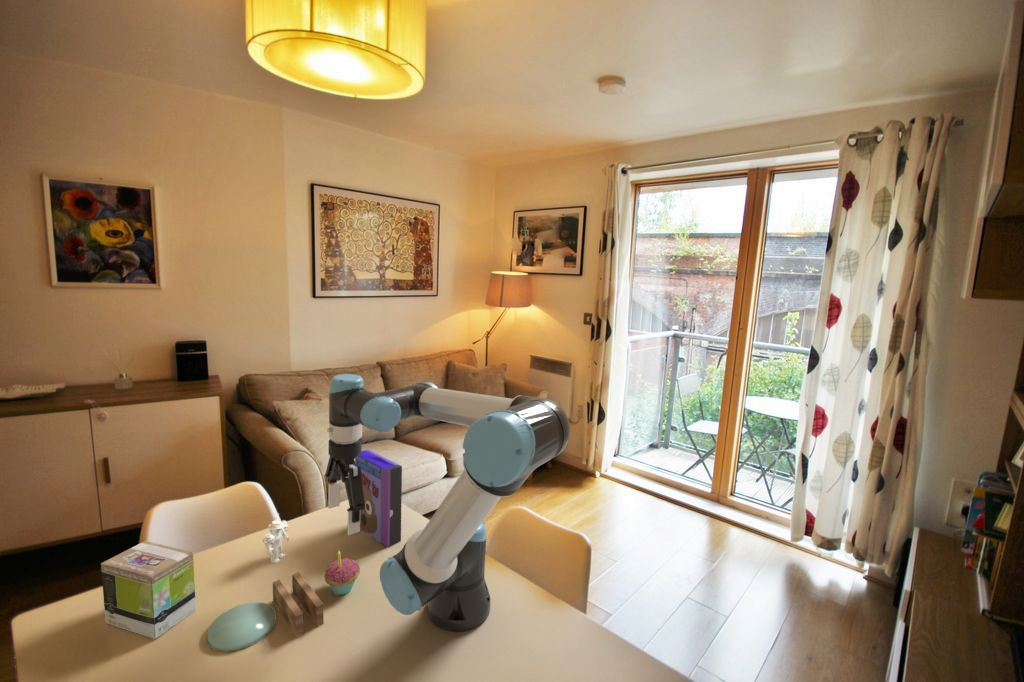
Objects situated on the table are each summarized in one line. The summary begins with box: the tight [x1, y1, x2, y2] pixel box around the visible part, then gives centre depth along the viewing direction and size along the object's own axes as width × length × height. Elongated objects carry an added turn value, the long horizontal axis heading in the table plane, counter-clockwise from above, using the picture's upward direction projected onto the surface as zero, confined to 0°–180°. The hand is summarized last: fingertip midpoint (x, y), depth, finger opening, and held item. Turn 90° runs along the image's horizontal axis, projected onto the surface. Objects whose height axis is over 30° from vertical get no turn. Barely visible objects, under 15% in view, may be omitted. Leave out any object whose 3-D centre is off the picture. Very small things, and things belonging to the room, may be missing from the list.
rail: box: [272, 579, 304, 638], centre depth 106 cm, size 15×2×5 cm, turn 45°
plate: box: [207, 601, 276, 652], centre depth 102 cm, size 13×13×1 cm
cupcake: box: [323, 549, 361, 596], centre depth 115 cm, size 9×8×12 cm
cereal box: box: [354, 449, 403, 549], centre depth 140 cm, size 17×5×24 cm, turn 50°
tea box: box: [100, 540, 197, 640], centre depth 103 cm, size 15×10×15 cm, turn 74°
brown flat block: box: [291, 571, 324, 628], centre depth 109 cm, size 15×2×5 cm, turn 45°
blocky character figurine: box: [262, 512, 290, 564], centre depth 126 cm, size 9×4×12 cm, turn 173°
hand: (343, 519), depth 114 cm, fingers open, 13 cm apart
